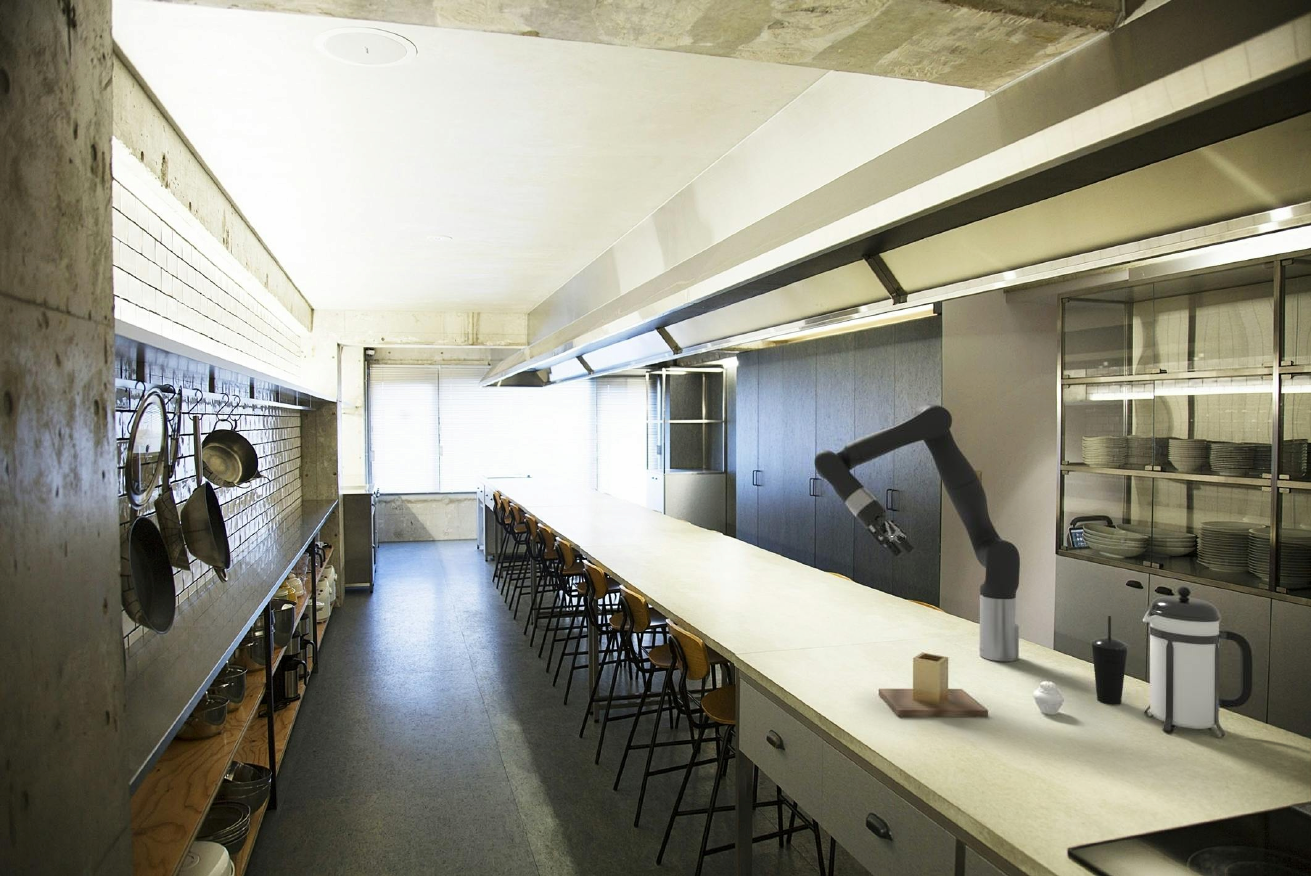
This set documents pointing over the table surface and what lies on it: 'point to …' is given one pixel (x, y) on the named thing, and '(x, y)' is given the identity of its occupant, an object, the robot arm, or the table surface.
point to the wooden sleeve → (930, 678)
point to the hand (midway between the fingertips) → (906, 552)
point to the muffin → (1048, 698)
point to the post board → (952, 707)
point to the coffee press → (1190, 663)
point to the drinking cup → (1109, 667)
